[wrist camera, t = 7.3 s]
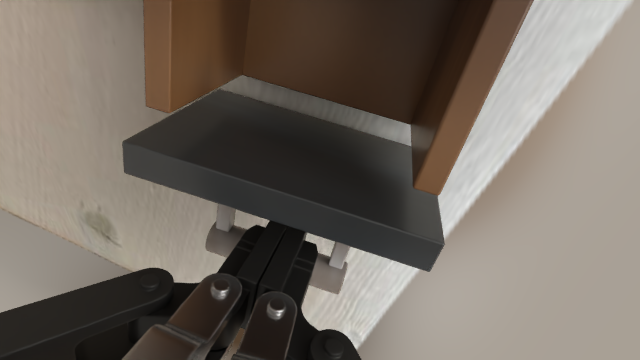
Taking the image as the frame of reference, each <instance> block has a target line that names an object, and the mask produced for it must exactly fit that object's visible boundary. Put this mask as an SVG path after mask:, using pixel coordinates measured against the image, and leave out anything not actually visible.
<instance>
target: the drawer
mask: <svg viewBox="0 0 640 360" xmlns="http://www.w3.org/2000/svg"><path fill="white" fill-rule="evenodd" d="M533 1H534V0H143V7H144V51H145V95H146V106H147V107H150V108H153V109H157V110H160V111H163V112H166V113H171V112H173V111H175V110H177V109H179V108H180V107H182V106H184V105H186V104H188V103H190V102H192V101H194V100H196V99H197V98H199V97H201V96H203V95H205V94H207V93H209V92H211V91H213V90H214V89H216V88H218V87H220V86H222V85H224V84H226V83H228V82H229V81H231V80H233V79H235V78H237V77H239V76H241V75H245V76H249V77H252V78H255V79H259V80H262V81H265V82H269V83H272V84H276V85H279V86H282V87H286V88H289V89H292V90H296V91H299V92H302V93H306V94H309V95H313V96H316V97H319V98H323V99H326V100H329V101H333V102H336V103H340V104H343V105H346V106H350V107H353V108H356V109H360V110H363V111H367V112H370V113H373V114H377V115H380V116H383V117H387V118H390V119H394V120H397V121H400V122H404V123H407V124H410V125H411V146H412V147H411V146H407V145H404V144H401V143H397V142H394V141H391V140H387V139H384V138H381V137H377V136H374V135H371V134H367V133H364V132H361V131H357V130H354V129H351V128H347V127H344V126H341V125H337V124H334V123H331V122H327V121H324V120H321V119H318V118H314V117H311V116H308V115H304V114H301V113H298V112H294V111H291V110H288V109H284V108H281V107H278V106H274V105H271V104H268V103H264V102H261V101H258V100H254V99H251V98H248V97H244V96H241V95H238V94H234V93H231V92H228V91H224V90H221V89H219V90H217V91H215V92H213V93H211V94H209V95H207V96H206V97H204V98H202V99H200V100H198V101H196V102H195V103H193V104H191V105H189V106H187V107H185V108H183V109H182V110H180V111H178V112H176V113H174V114H172V115H171V116H169V117H167V118H165V119H163V120H161V121H159V122H158V123H156V124H154V125H152V126H150V127H148V128H147V129H145V130H143V131H141V132H139V133H137V134H135V135H134V136H132V137H130V138H128V139H126V140H124V141H123V143H122V146H123V162H124V172H125V173H126V174H129V175H132V176H135V177H138V178H141V179H145V180H148V181H151V182H154V183H157V184H160V185H163V186H166V187H169V188H172V189H175V190H178V191H181V192H185V193H188V194H191V195H194V196H197V197H200V198H203V199H206V200H209V201H212V202H215V203H218V210H217V220H216V222H215V223H214V224H213V226H212V228H211V229H210V231H209V234H208V236H207V240H206V250H207V251H209V252H212V253H215V254H218V255H221V256H224V257H227V258H228V256H229V255H230V253H231V252H232V250H233V249H234V247H235V246H236V244H237V243H238V242H239V241H240V239H241V237H242V236H243V234H244V233H245V231H246V230H247V229H244V228H241V227H238V226H235V225H234V219H235V212H236V209H237V210H240V211H243V212H246V213H249V214H252V215H255V216H258V217H261V218H265V219H268V220H271V221H274V222H277V223H280V224H283V225H286V226H289V227H292V228H295V229H298V230H301V231H305V232H308V233H311V234H314V235H317V236H320V237H323V238H326V239H329V240H332V241H335V244H334V247H333V250H332V253H331V256H330V257H329V256H326V255H323V254H320V253H318V257H317V260H316V263H315V267H314V270H313V273H312V277H311V280H310V283H309V285H311V286H314V287H317V288H319V289H322V290H325V291H328V292H331V293H334V294H339V292H340V290H341V287H342V284H343V281H344V278H345V274H346V270H347V265H348V264H347V262H345V259H346V257H347V254H348V251H349V248H350V246H351V247H354V248H357V249H360V250H363V251H366V252H369V253H372V254H375V255H378V256H381V257H385V258H388V259H391V260H394V261H397V262H400V263H403V264H406V265H409V266H412V267H415V268H418V269H422V270H425V271H428V272H430V271H431V269H432V267H433V265H434V263H435V261H436V260H437V258H438V256H439V254H440V252H441V250H442V249H443V247H444V245H445V244H444V237H443V230H442V223H441V217H440V210H439V203H438V195H439V194H440V193H441V191H442V189H443V187H444V185H445V183H446V181H447V179H448V177H449V174H450V172H451V170H452V168H453V166H454V164H455V162H456V160H457V158H458V156H459V154H460V152H461V150H462V148H463V146H464V143H465V141H466V139H467V137H468V135H469V133H470V131H471V129H472V127H473V125H474V123H475V121H476V119H477V117H478V115H479V112H480V110H481V108H482V106H483V104H484V102H485V100H486V98H487V96H488V94H489V92H490V90H491V88H492V86H493V84H494V81H495V79H496V77H497V75H498V73H499V71H500V69H501V67H502V65H503V63H504V61H505V59H506V57H507V55H508V53H509V50H510V48H511V46H512V44H513V42H514V40H515V38H516V36H517V34H518V32H519V30H520V28H521V26H522V24H523V22H524V19H525V17H526V15H527V13H528V11H529V9H530V7H531V5H532V3H533Z"/></svg>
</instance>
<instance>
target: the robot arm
mask: <svg viewBox="0 0 640 360" xmlns="http://www.w3.org/2000/svg"><path fill="white" fill-rule="evenodd" d="M306 235H307V232H305V231H301V230H298V229H295V228H292V227H289V226H286V225H283V224H280V223H277V222H274V221H271V220H270V221H269V223H268V225H267V226H266V228H265V227H262V226H259V225H255V226H253V227H251V228H250V229H248V230H246V231H245V233H244V234H243V236H242V237H241V239H240V241H239V242H238V243H237V244H236V246H235V247H234V249H233V250H232V252H231V253H230V255H229V256H228V258H227V259H226V260H225V262H224V263H223V265H222V266H221V268H220V269H219V271H218V272H217V273H215V274H212V275H209V276H207V277H206V278H204V279H203V280H202V281H201V282H200V283H175V282H174V280H173V277H172V275H171V274H170V273H169V272H168V271H166V270H163V269H160V268H147V269H143V270H139V271H136V272H133V273H130V274H127V275H123V276H120V277H117V278H113V279H110V280H107V281H103V282H100V283H97V284H93V285H91V286H87V287H84V288H80V289H77V290H74V291H70V292H67V293H64V294H61V295H57V296H54V297H51V298H48V299H44V300H41V301H38V302H34V303H31V304H28V305H24V306H21V307H18V308H15V309H11V310H8V311H5V312H2V313H0V360H224V359H225V358H226V356H227V354H228V353H229V351H230V349H231V348H232V345H233V341H234V339H235V337H236V335H237V333H238V331H239V329H240V328H243V329H245V332H244V334H243V337H242V339H241V342H240V344H239V347H238V349H237V352H236V354H234V355H233V356H232V358H231V360H361V358H360V356H359V354H358V353H357V351H356V349H355V347H354V345H353V344H352V342H351V341H350V339H349V338H348V337H347V336H346V335H344V334H343V333H341V332H339V331H336V330H332V329H326V330H322V331H319V330H317V329H316V328H314V327H313V326H312V325H310V324H309V323H308V322H307V320H306V319H305V318H304V316H303V313H302V310H301V307H302V304H303V301H304V298H305V295H306V292H307V289H308V286H309V283H310V280H311V277H312V273H313V270H314V267H315V263H316V260H317V257H318V251H317V246H316V244H314V243H311V242H308V241H305V238H306Z"/></svg>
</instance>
